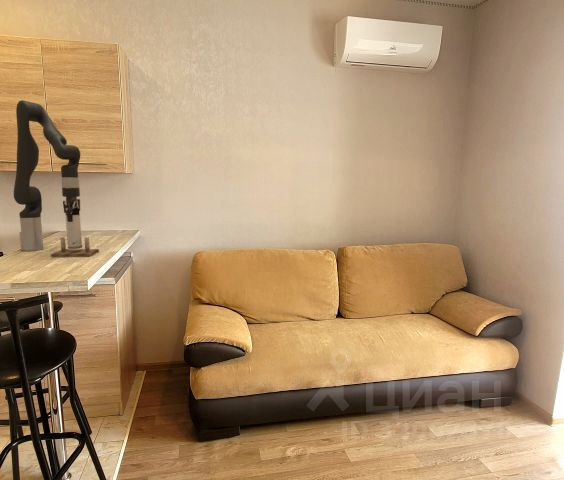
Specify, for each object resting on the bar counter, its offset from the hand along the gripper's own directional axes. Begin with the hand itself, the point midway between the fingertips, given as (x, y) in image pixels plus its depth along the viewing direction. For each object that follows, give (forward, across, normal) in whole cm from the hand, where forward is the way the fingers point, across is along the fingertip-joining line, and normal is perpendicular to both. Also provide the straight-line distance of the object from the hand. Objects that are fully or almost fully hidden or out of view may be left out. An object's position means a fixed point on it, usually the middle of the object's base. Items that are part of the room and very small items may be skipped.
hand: (73, 220), depth 185 cm
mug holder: (+17, 0, 0) cm, 17 cm away
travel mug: (+14, 0, 0) cm, 14 cm away
